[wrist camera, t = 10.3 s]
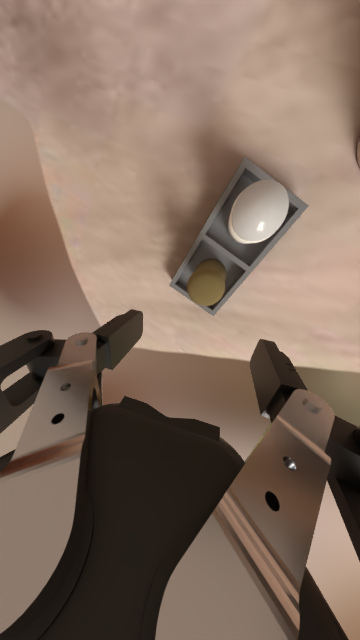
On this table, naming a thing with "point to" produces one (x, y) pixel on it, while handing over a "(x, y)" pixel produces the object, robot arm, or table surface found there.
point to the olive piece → (207, 282)
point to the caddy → (222, 247)
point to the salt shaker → (258, 212)
